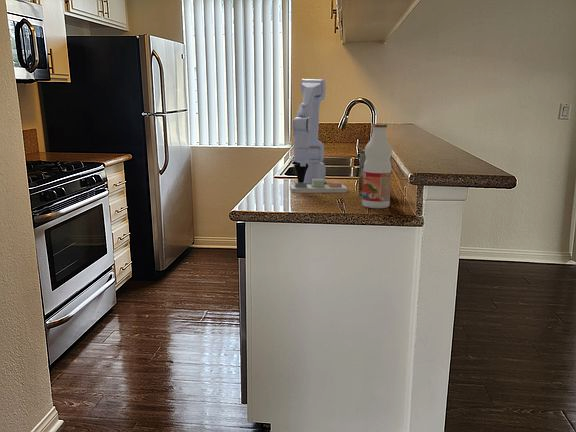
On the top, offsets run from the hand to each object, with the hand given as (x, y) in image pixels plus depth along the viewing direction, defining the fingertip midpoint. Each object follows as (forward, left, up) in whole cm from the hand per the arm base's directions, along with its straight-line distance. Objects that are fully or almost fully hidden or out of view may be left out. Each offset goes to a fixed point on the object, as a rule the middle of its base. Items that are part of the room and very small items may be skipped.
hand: (300, 182), depth 206 cm
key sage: (-6, +4, -1) cm, 7 cm away
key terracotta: (-12, +8, -2) cm, 14 cm away
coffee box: (-17, +23, -4) cm, 29 cm away
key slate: (0, 0, -3) cm, 3 cm away
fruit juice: (-2, +39, -3) cm, 39 cm away
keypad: (-6, +4, -3) cm, 8 cm away
